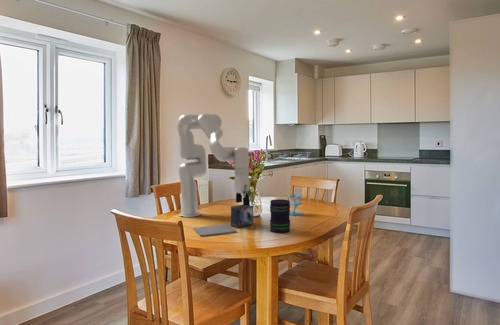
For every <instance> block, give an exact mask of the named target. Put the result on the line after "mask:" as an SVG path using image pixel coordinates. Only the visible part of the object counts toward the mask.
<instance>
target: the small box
mask: <svg viewBox="0 0 500 325" xmlns="http://www.w3.org/2000/svg"><path fill="white" fill-rule="evenodd" d="M250 226H254V206H253V205H251V204H249V205H243V204H238V205H232V206H230V227H232V228H233V227H234V228H236V229H240V228H243V227H246V228H247V227H250Z"/></svg>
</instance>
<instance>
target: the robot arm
mask: <svg viewBox="0 0 500 325" xmlns="http://www.w3.org/2000/svg"><path fill="white" fill-rule="evenodd" d="M221 126H222V119H221V117H220V116H219V114H215V113H202V114H192V113H191V114H189V113H188V114H187V113H186V114H182V115H181V116H180V117H179V118H178V120H177V126H176V127H177V132H178V137H179V152H180V158H181V159H182V160H184V161H188V162H184V163H182V164H180V165H179V167H178V176H179V181H180V183H179V184H180V206H181V207H180V208H181V209H180V210H181V212H179V213H178V216H179V217H181V216H183V217H182V218H196V217H198V216H200V215H201V211H198V186H197V182H196V180H195V178H203V177H204V176H205V175H206V173H207V155H206V149H205V147H204V146H203V145H202V144H199V143H195V137H194V133H193V132H192V130H202V131H203V133H204V134H205V135H206V137H207V138H208V139H209V142H208V144H209V150H210V152H211V153H212V155H213V156H214V157H215V159H216V160H218V162H222V163H225V162H233V163H234V164H233V165H234V170H233V171H234V183H233V184H234V187H233V188H234V189H233V190H234V192H235V202H236V203H242V205H250V191H251V189H250V178H249V173H250V171H249V170H250V166H249V163H250V162H249V160H250V159H249V149H248V147H245V146H244V147H242V146H241V147H236V146H226V147H223V146H222V144H221V142H220V141H219V140H221V138H222V137H223V135H224V131H223V130H222V129H221ZM189 161H191V162H189Z"/></svg>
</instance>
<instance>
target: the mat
mask: <svg viewBox="0 0 500 325" xmlns="http://www.w3.org/2000/svg"><path fill="white" fill-rule="evenodd" d="M193 229H194V230H195V231H196V232H197V233H198V234H197V233H196V232H195V233H196V234H197V235H199V234H200V235H201V236H204V237H208V236H207V235H212V236H218V235H217V234H220V235H226V234H227V233H228V234H236V233H237V232H238V231H237V229H235V228H233V226H231V225H229V224H227V223H225V224H215V225H207V226H198V227H197V226H196V227H193V228H192V230H193ZM194 230H193V231H194ZM228 234H227V235H228ZM200 235H199V236H200ZM201 236H200V237H201Z"/></svg>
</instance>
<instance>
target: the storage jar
mask: <svg viewBox="0 0 500 325" xmlns="http://www.w3.org/2000/svg"><path fill="white" fill-rule="evenodd" d="M269 201H270V204H269V205H270V206H269V212H270V220H269V222H270V223H269V226H270V232H271V233H273V234H288V233H290V232H291V230H290V229H291V219H290V215H289V213H290V212H291V205H290V202H291V201H290V199H289V200H288V199H282V198H281V199H280V198H279V199H278V198H277V199H271V200H269Z"/></svg>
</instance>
